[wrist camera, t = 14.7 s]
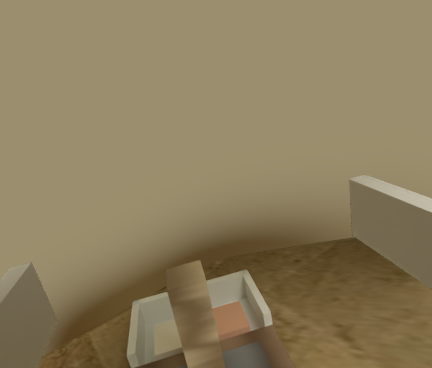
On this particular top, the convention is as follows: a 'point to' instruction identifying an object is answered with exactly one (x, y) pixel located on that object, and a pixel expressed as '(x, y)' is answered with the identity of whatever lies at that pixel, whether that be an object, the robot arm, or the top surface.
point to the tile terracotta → (230, 320)
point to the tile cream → (166, 340)
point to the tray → (162, 312)
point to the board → (265, 335)
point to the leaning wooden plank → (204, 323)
